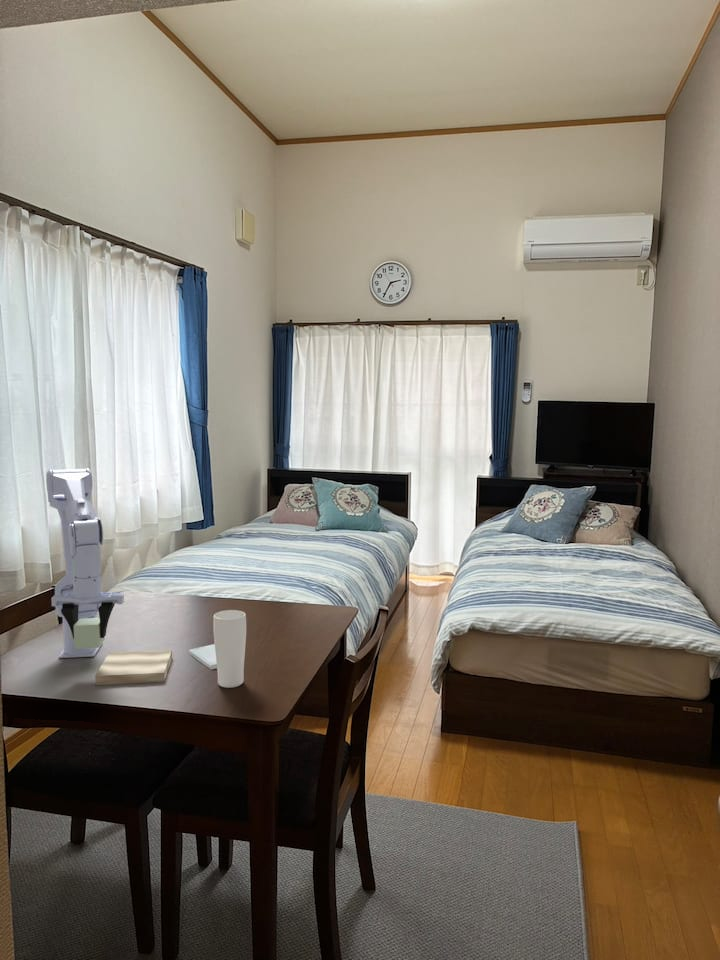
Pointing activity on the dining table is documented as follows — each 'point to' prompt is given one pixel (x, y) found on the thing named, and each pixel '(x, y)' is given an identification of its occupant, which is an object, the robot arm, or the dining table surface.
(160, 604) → the dining table surface
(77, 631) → the sage cube
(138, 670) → the birch base
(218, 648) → the drinking glass
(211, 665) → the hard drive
